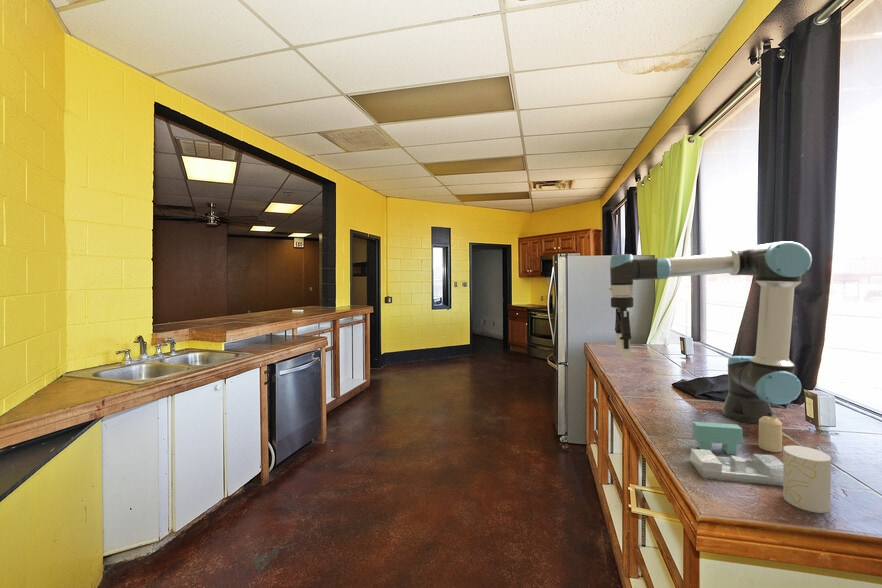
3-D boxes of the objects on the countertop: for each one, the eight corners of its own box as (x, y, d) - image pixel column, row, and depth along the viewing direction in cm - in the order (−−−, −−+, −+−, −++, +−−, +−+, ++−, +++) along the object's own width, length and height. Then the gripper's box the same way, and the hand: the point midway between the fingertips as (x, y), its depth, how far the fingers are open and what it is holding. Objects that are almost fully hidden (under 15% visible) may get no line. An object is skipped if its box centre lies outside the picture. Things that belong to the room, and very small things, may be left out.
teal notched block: (737, 449, 118) (737, 424, 118) (742, 455, 115) (742, 428, 115) (692, 446, 122) (692, 421, 121) (696, 451, 118) (696, 425, 118)
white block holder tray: (771, 468, 107) (771, 454, 107) (793, 487, 97) (793, 471, 97) (690, 460, 112) (690, 447, 112) (703, 477, 103) (702, 463, 103)
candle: (776, 445, 120) (776, 414, 120) (785, 453, 115) (786, 420, 115) (755, 443, 122) (755, 413, 122) (763, 451, 117) (763, 419, 116)
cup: (774, 494, 95) (774, 446, 94) (804, 491, 95) (804, 444, 95) (808, 514, 86) (808, 462, 86) (840, 511, 87) (841, 459, 87)
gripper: (606, 295, 153) (607, 347, 154) (615, 298, 129) (616, 360, 130) (627, 294, 151) (628, 347, 152) (640, 298, 127) (641, 361, 128)
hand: (622, 354), depth 141 cm, fingers open, 13 cm apart
